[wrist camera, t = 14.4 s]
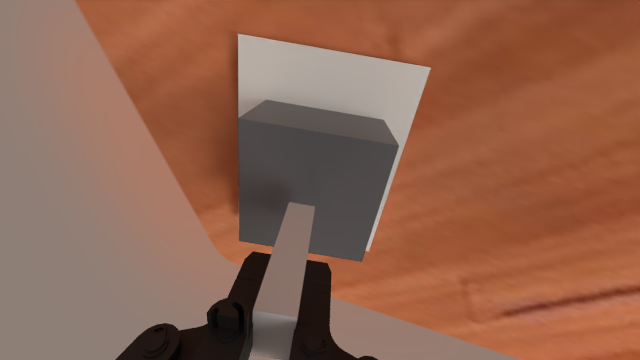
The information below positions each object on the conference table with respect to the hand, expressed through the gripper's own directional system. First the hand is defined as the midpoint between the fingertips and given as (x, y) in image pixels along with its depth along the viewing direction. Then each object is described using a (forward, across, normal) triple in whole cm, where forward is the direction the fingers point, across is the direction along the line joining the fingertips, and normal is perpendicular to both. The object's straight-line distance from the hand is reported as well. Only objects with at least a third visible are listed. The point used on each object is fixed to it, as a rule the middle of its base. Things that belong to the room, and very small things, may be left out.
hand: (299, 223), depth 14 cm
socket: (+11, 0, 0) cm, 11 cm away
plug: (+11, 0, 0) cm, 11 cm away
